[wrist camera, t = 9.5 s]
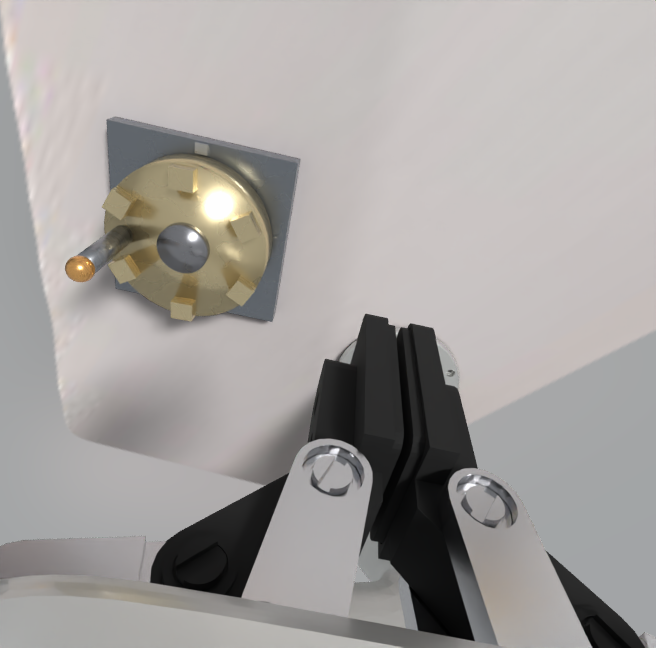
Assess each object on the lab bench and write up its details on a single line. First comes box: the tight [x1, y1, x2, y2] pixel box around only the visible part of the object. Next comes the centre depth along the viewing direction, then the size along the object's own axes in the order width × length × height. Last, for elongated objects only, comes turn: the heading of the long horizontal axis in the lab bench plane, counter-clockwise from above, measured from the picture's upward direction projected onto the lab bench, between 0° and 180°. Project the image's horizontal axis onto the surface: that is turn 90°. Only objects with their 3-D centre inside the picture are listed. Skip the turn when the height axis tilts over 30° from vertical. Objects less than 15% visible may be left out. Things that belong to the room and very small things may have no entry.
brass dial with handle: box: [65, 154, 272, 322], centre depth 35 cm, size 13×13×10 cm
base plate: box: [107, 117, 300, 322], centre depth 40 cm, size 15×15×2 cm
